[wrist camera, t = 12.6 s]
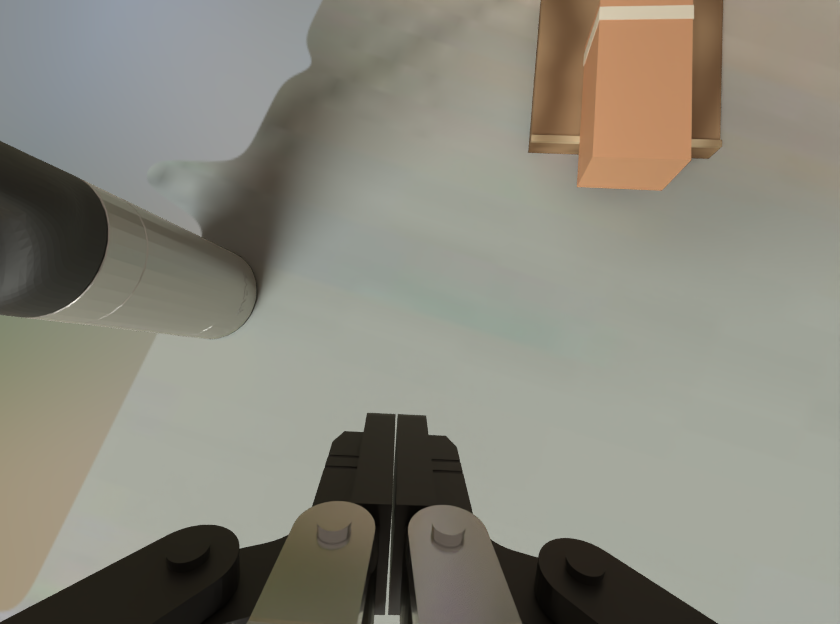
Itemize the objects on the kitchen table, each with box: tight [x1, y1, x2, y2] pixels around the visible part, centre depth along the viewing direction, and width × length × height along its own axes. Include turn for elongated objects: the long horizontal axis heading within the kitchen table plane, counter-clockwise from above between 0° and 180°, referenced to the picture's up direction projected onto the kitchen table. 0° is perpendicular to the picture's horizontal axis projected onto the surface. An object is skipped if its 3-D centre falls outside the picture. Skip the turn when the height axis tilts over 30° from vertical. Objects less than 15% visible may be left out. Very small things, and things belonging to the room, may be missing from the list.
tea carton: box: [577, 0, 694, 191], centre depth 35 cm, size 7×5×14 cm
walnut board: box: [528, 0, 723, 159], centre depth 39 cm, size 16×16×2 cm
